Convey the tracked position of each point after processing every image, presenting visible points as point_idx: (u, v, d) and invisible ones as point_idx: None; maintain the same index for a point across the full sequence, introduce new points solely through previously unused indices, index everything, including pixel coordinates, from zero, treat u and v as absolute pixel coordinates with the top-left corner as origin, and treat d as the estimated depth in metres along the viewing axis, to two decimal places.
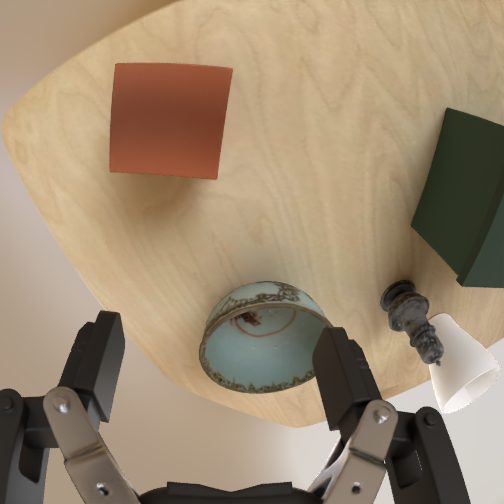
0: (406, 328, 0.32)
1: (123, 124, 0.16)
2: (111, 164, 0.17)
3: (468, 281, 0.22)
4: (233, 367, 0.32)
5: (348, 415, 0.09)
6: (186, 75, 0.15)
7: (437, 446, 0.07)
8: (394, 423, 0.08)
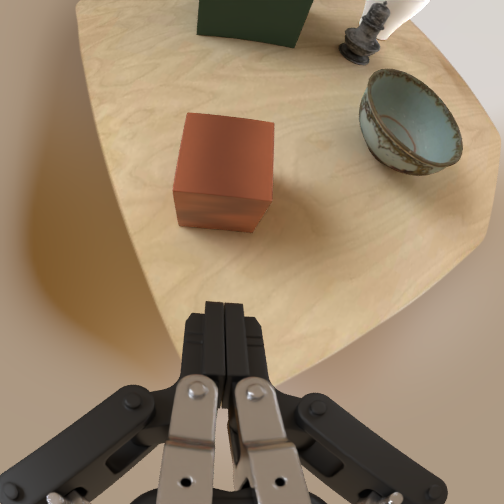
0: (372, 36, 0.33)
1: (229, 184, 0.21)
2: (265, 198, 0.21)
3: None
4: (444, 155, 0.30)
5: (230, 391, 0.09)
6: (191, 138, 0.21)
7: (342, 431, 0.07)
8: (268, 404, 0.08)
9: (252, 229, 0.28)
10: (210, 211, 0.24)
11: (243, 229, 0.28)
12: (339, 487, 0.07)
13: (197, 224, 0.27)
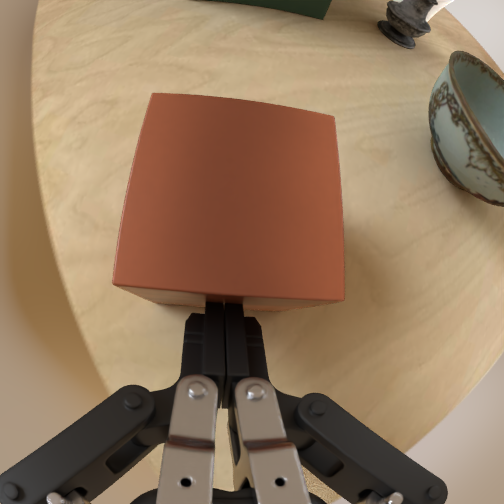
0: (424, 12, 0.21)
1: (247, 264, 0.09)
2: (330, 295, 0.09)
3: None
4: None
5: (230, 391, 0.09)
6: (156, 148, 0.09)
7: (342, 431, 0.07)
8: (268, 404, 0.08)
9: (281, 310, 0.16)
10: (204, 301, 0.12)
11: (265, 310, 0.16)
12: (339, 487, 0.07)
13: (184, 304, 0.15)
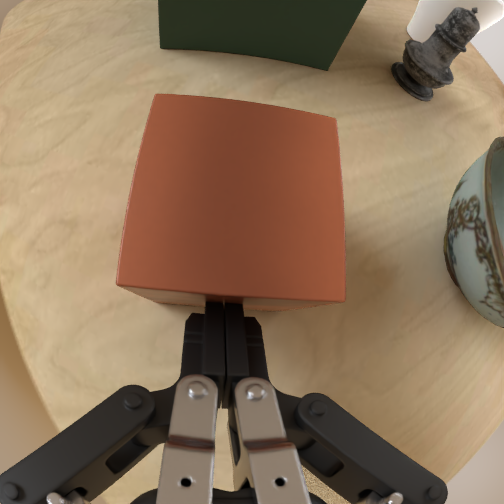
0: (449, 60, 0.19)
1: (250, 265, 0.09)
2: (331, 296, 0.09)
3: None
4: None
5: (230, 391, 0.09)
6: (159, 149, 0.09)
7: (342, 431, 0.07)
8: (268, 404, 0.08)
9: (281, 310, 0.16)
10: None
11: None
12: (339, 487, 0.07)
13: (185, 304, 0.15)
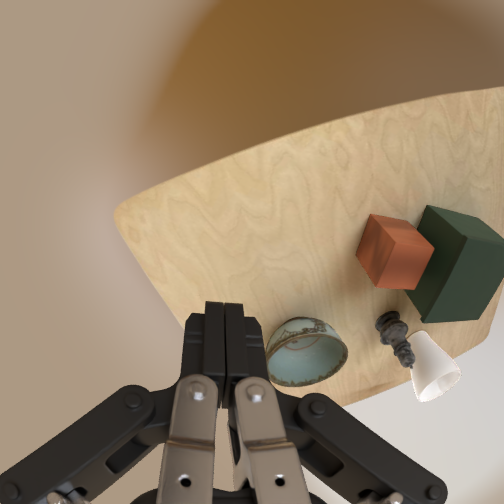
0: (391, 343, 0.49)
1: (390, 269, 0.36)
2: (378, 284, 0.38)
3: (427, 320, 0.39)
4: (280, 370, 0.50)
5: (230, 391, 0.09)
6: (419, 250, 0.35)
7: (342, 431, 0.07)
8: (268, 404, 0.08)
9: (358, 257, 0.44)
10: (376, 246, 0.39)
11: (359, 252, 0.44)
12: (339, 487, 0.07)
13: (369, 227, 0.41)
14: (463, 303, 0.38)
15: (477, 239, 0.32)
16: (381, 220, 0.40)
